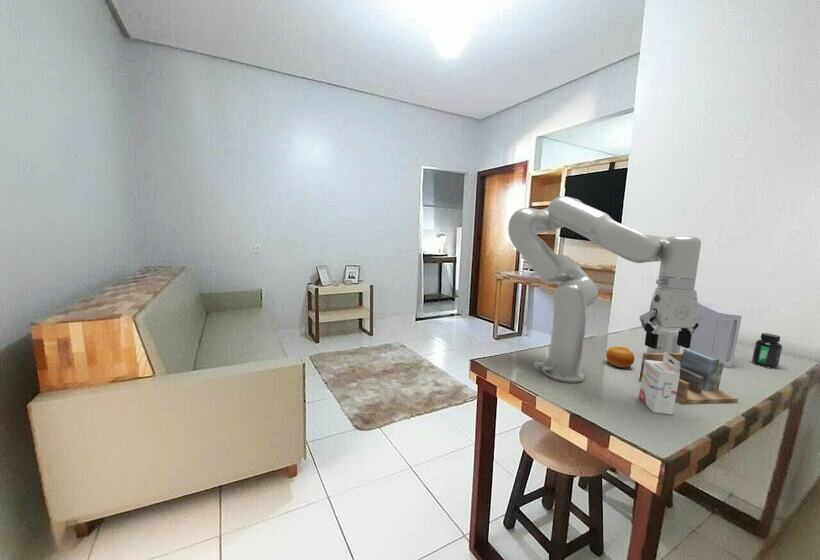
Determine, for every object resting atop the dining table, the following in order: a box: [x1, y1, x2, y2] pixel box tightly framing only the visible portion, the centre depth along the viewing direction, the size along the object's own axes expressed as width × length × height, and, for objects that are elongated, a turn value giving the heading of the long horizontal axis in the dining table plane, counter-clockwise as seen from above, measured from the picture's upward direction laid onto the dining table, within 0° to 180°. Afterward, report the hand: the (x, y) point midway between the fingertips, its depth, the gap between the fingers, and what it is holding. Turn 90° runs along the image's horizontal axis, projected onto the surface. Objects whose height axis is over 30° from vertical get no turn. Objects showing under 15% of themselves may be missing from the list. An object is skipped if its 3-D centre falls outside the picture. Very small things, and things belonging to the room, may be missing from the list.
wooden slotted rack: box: [639, 348, 739, 405], centre depth 100 cm, size 18×15×11 cm
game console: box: [690, 300, 743, 368], centre depth 132 cm, size 6×27×20 cm, turn 157°
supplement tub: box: [646, 325, 682, 353], centre depth 122 cm, size 10×10×15 cm
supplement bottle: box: [751, 332, 783, 369], centre depth 123 cm, size 7×7×12 cm
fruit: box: [605, 346, 635, 368], centre depth 118 cm, size 8×8×8 cm
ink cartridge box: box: [638, 352, 680, 416], centre depth 89 cm, size 9×5×15 cm, turn 168°
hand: (666, 346), depth 87 cm, fingers open, 9 cm apart
